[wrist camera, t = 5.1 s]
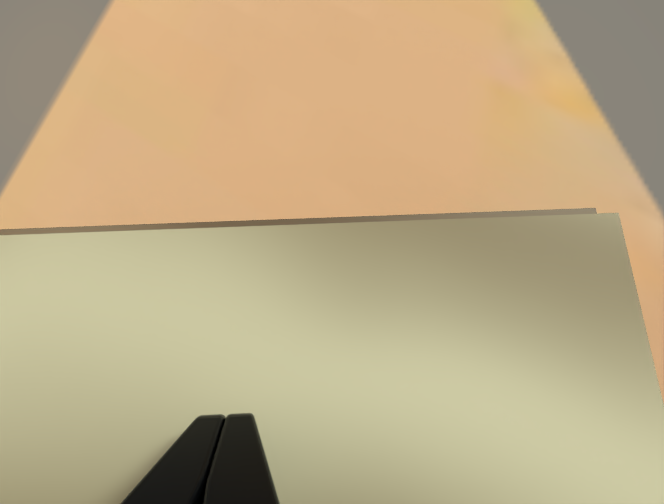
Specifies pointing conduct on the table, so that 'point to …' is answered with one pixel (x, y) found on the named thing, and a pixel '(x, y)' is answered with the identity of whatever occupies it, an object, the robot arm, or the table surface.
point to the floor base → (296, 221)
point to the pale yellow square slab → (335, 360)
